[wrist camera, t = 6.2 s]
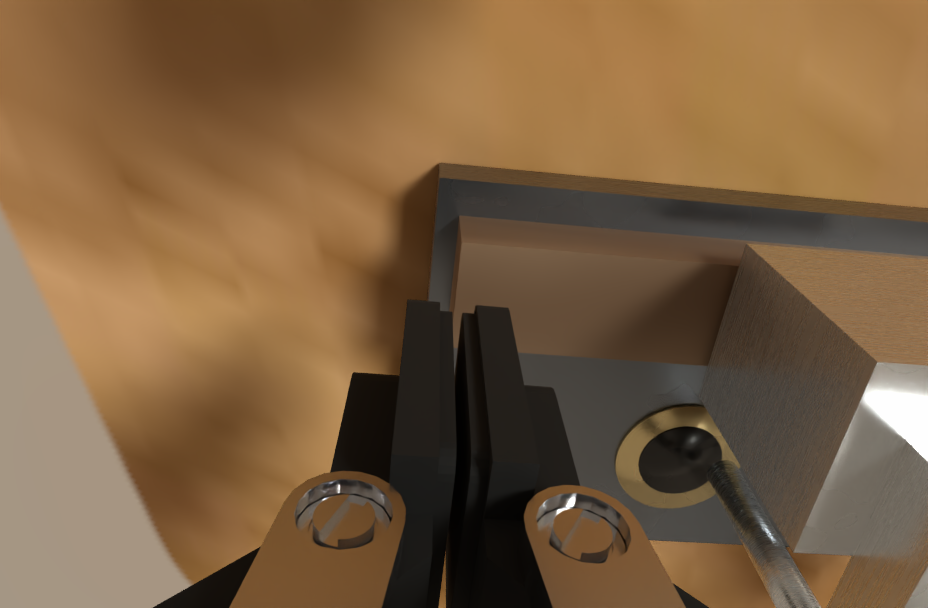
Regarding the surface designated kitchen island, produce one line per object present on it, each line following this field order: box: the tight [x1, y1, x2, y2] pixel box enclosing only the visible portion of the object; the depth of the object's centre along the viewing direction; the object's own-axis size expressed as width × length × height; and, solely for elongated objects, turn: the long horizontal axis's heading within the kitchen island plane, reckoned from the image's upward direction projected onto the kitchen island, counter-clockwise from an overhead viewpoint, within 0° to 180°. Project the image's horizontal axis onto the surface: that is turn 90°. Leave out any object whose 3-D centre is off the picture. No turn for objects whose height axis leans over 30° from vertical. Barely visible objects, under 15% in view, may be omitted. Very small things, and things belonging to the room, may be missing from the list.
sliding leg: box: [699, 243, 928, 608], centre depth 13 cm, size 7×4×7 cm, turn 174°
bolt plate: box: [427, 163, 928, 547], centre depth 18 cm, size 10×22×1 cm, turn 84°
